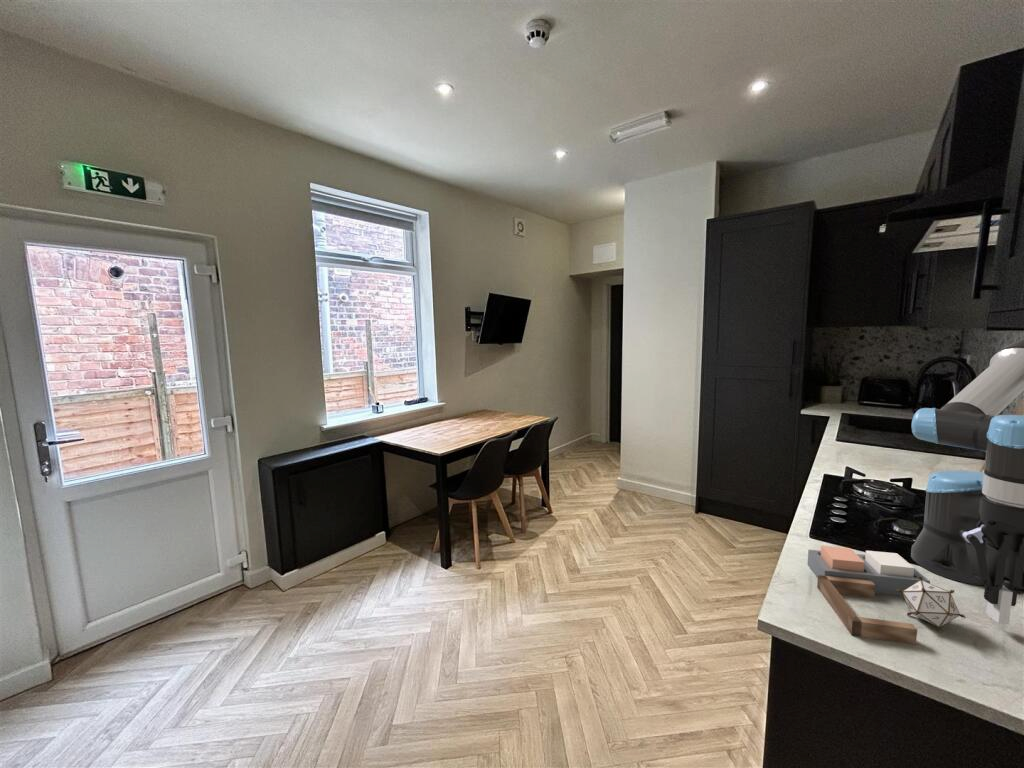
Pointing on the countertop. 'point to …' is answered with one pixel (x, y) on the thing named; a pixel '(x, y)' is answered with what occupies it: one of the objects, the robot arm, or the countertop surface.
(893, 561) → the ivory key
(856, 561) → the terracotta key
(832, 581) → the walnut bracket
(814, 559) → the key panel
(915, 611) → the game die
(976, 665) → the countertop surface
